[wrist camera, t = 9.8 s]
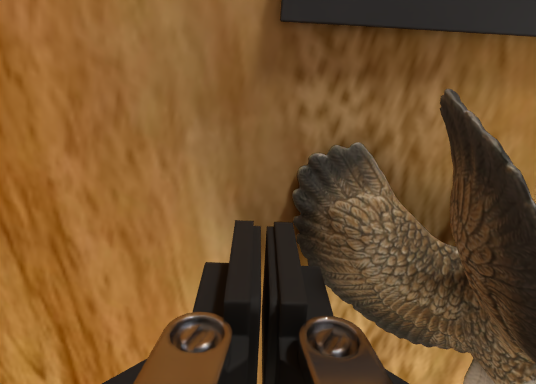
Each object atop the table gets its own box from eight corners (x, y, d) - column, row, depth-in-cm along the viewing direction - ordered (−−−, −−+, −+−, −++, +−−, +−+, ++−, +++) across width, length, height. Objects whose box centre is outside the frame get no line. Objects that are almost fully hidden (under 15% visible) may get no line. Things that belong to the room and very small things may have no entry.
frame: (255, 429, 16) (256, 436, 16) (283, -43, 10) (284, -45, 10) (582, 434, 16) (588, 441, 16) (779, -9, 11) (793, -11, 10)
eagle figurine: (675, 167, 11) (452, -6, 8) (876, 478, 7) (580, 375, 4) (449, 260, 17) (265, 180, 14) (487, 464, 13) (234, 417, 9)
